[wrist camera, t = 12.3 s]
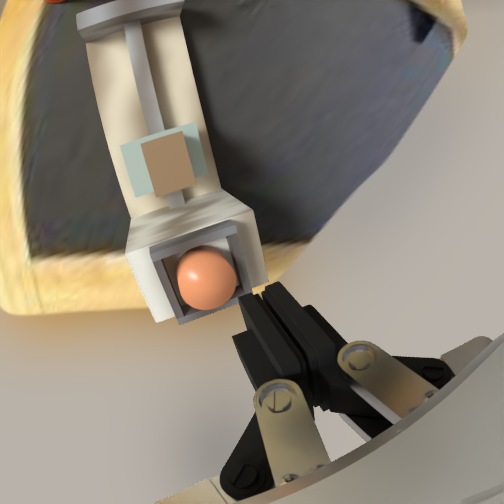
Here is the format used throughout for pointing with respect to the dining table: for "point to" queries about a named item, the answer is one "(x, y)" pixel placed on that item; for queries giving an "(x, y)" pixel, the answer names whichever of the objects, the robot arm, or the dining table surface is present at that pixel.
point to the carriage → (165, 161)
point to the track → (167, 97)
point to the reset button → (205, 278)
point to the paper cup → (54, 1)
